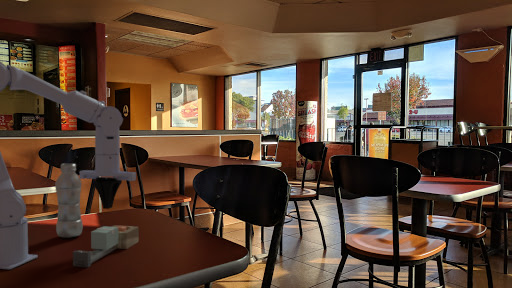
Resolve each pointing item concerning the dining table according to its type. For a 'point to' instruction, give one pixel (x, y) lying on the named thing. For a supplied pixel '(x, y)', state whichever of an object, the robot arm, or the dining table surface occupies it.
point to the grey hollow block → (128, 237)
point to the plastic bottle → (68, 202)
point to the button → (121, 228)
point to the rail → (89, 256)
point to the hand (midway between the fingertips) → (107, 208)
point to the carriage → (104, 238)
